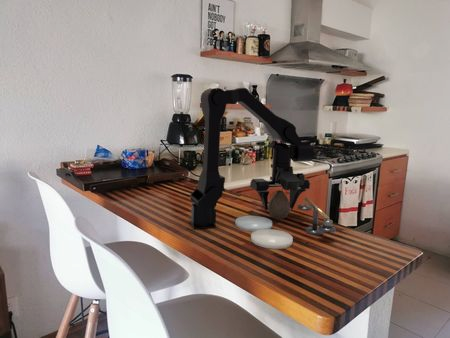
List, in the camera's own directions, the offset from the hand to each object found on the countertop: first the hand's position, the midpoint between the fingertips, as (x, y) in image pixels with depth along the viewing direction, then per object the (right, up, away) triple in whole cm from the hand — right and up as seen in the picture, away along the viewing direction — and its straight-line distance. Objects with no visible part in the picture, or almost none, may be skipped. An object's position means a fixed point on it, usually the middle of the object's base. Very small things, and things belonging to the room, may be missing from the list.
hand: (278, 209), depth 110 cm
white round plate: (-9, -4, -8) cm, 13 cm away
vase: (0, -3, 0) cm, 3 cm away
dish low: (-5, -6, -20) cm, 21 cm away
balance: (+8, -5, -12) cm, 16 cm away
